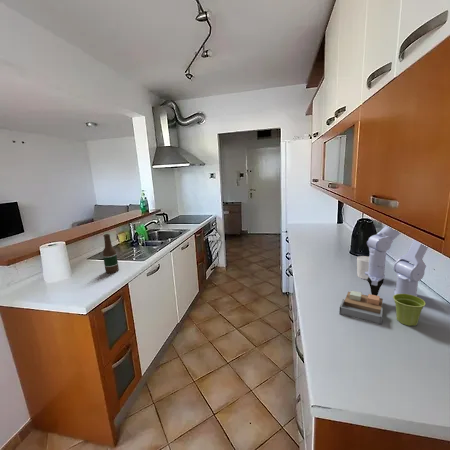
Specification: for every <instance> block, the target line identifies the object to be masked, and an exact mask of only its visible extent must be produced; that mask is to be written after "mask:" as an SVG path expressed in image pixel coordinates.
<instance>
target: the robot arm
mask: <svg viewBox="0 0 450 450" xmlns="http://www.w3.org/2000/svg"><path fill="white" fill-rule="evenodd" d="M401 234H402V233H399V232H398V231H396V230H393V229H392V228H390V227H388V226H386V225H385V226H384V227H383V228H381V230H380V231H379V232H377V233H376V234H373V235H371V236H370V237H368V240H367V241H366V245H367V247H368V251H369V254H368V255H369V256H368V257H369V269H368V272H365V275H368V276H369V277H368V279H367V283H368V285H369V288H370V294H371V295H376V296H379V292H380V289H381V287H382V285H383V284H384V281H385V273H386V271H385V270H386V257H387V251H388V250H390V248H391V247H392V243H393V241H394V240H395V239H396V238H397V237H399V236H400V235H401ZM428 248H429V247H426V246H424V245H422V244H420V243H419V242H417V241H415V240H414V239H412V242H411V244H410V247H409V249H408V251H407V253H405V254H402V255H400V256H399V258H398V260H396V261H395V262H394V263H393V270H394V272H395V276H397V277H396V283H395V284H396V286H395V288H394V292H393V293H394V294H393V296H394V295H396V294H409V295H413V296H416V297H418V286H419V285H418V284H419V282H420V281H422V279H423V278H424V276H425V270H426V267H427V265H426V263H425V262H424V260H423V259H424V256H425V255H426V252H427V251H428Z"/></svg>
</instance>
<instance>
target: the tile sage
mask: <svg viewBox="0 0 450 450" xmlns="http://www.w3.org/2000/svg"><path fill="white" fill-rule="evenodd" d="M350 292H351V293H350V299H353V300H357V301H361V297H362V295H363V293H362V292H360V291H354V290H351V291H350Z"/></svg>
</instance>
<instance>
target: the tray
mask: <svg viewBox="0 0 450 450" xmlns="http://www.w3.org/2000/svg"><path fill="white" fill-rule="evenodd" d="M344 301H345V299H342V301H341V303H340V306H339V311H338V312H339V315H341V316H342V315H343V316H346V317H349V318H353V319H357V320H361V321H366V322H370V323H374V324H377V325H382V322H383V321H382V320H383V312H384V311H383V310H384V308H383V307H382V308H381V313H380V314H379V313H375V312H371V311H367V310H362V309H358V308H354V307H350V306H345V305H344Z"/></svg>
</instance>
